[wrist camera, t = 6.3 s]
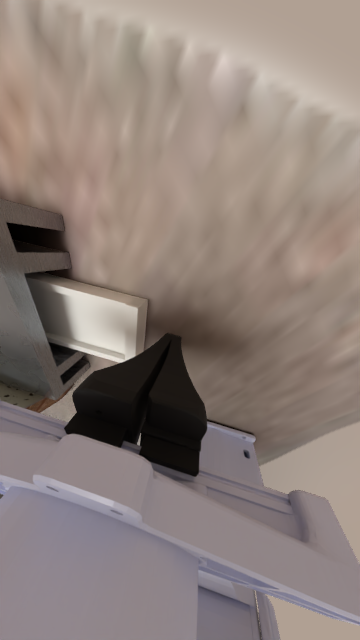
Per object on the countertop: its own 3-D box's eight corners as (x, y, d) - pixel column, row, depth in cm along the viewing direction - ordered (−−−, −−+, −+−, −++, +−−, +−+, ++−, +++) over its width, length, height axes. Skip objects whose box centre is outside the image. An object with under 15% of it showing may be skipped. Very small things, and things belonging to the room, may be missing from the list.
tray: (148, 299, 12) (137, 308, 10) (143, 354, 15) (134, 368, 13) (24, 267, 12) (-6, 270, 11) (44, 326, 15) (23, 336, 14)
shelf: (62, 215, 10) (-35, 189, 6) (89, 367, 17) (55, 400, 13) (-55, 189, 10) (-212, 151, 6) (21, 347, 18) (-30, 373, 14)
